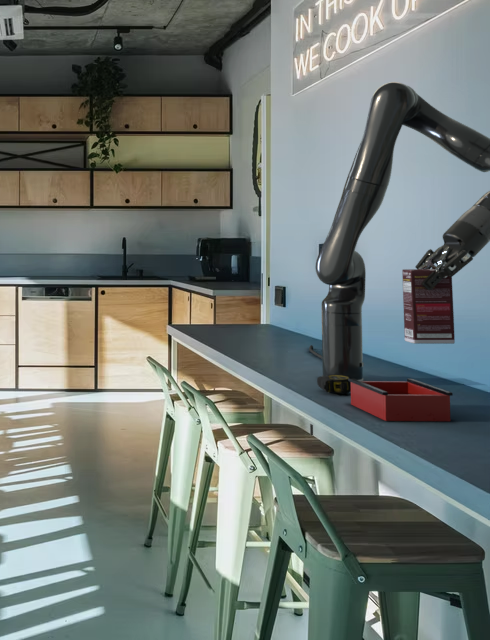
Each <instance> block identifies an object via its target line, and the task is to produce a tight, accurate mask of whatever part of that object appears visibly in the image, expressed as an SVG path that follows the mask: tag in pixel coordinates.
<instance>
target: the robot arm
mask: <svg viewBox="0 0 490 640" xmlns="http://www.w3.org/2000/svg"><path fill="white" fill-rule="evenodd" d="M403 126H404V127H406V128H410V129H412V130H413V131H416V132H418V133H420V134H422V135H423V136H425V137H427V138H428V139H430V140H431V141H433V142H434V143H435V144H436V145H438V146H440V147H441V148H443V150H445V151H446V152H448V153H449V154H450V155H452V156H453V157H455V158H457V159H459V160H460V161H462V162H463V163H465V164H467V165H469V166H470V167H472V168H474V169H475V170H477V171H479V172H481V173H489V172H490V137H489V136H486V135H484V134H483V133H481V132H479V131H478V130H476V129H474V128H472V127H470V126H468V125H466V124H464V123H462V122H460V121H459V120H455V119H454V118H452V117H450V116H448V115H447V114H445V113H443V112H442V111H440V110H438V109H437V108H436V107H434V106H433V105H431V104H430V103H429V102H427V100H426V99H424V98H423V97H422V96H420V95H419V94H418V93H417V92H416V90H414V88H413V87H411V86H410V85H407V84H405V83H403V82H398V81H390V82H387V83H384V84H382V85H380V86H379V87H378V88H377V89H376V90H375V92H374V93H373V95H372V97H371V99H370V104H369V109H368V114H367V118H366V123H365V127H364V131H363V135H362V138H361V140H360V143H359V146H358V147H357V150H356V153H355V156H354V158H353V161H352V164H351V167H350V169H349V171H348V173H347V177H346V180H345V183H344V186H343V190H342V193H341V196H340V200H339V203H338V205H337V208H336V211H335V214H334V218H333V220H332V224H331V226H330V229H329V231H328V233H327V235H326V238H325V239H324V242H323V244H322V246H321V248H320V251H319V253H318V255H317V258H316V262H315V274H316V275H317V278H318V280H319V281H320V282H322V283H323V284H325V285H328V292H327V295H326V296H325V297H324V298H323V299H322V301H321V354H320V353H318V352H316V351H315V350H314V346H313V344H311V345H309V348H308V351H309V352H310V353H311V354H312V355H314V356H315V357H317V358H319V359H321V361H322V362H321V363H322V364H321V365H322V368H321V369H322V375H321V376H327V375H341V376H346V377H349V378H353V379H356V380H358V381H364V374H363V373H364V370H363V369H364V368H363V367H364V365H365V362H363V361H364V358H363V313H362V312H363V305H364V302H365V299H366V279H367V278H366V272H367V271H366V264H365V261H364V258H363V257H362V255H361V254H360V253H359V252H358V251H356V248H357V244H358V241H359V239H360V237H361V235H362V233H363V232H364V230H365V228H367V226H368V224H369V223H370V222H371V221H372V220H373V218H374V217H375V215H376V214H377V213H378V211H379V209H380V208H381V206H382V205H383V204H382V203H383V202H384V198H385V196H386V193H387V190H388V187H389V184H390V182H391V181H390V180H391V178H392V177H391V176H392V170H393V163H394V161H393V160H394V152H395V146H396V143H397V140H398V137H399V135H400V132H401V129H402V127H403ZM442 240H443V244H442V245H441V246H439V247H438V248H437V249H435V250H434V251H433V249H431V248H430V249H427V251H426V252H425V254H423V256H422V257H421V258H420V260H419V261H418V263H417V264H416V265H415V267H414V268H415V269H435V270H434V271H435V272H432V273H431V274H430V275H429V276H428V277H427V278H426V279H425V280H424V281H423V282H422V286H423V287H424V288H425V289H426V290H432V289H433V288H434V287H435V285H436V284H437V283H438V282H439V281H440V280H441V279H445V278H446V277H447V276H449V277H452V278H453V277H454V276H455V275H456V274H457V273H458V272H460V271H461V270H462V269H463V268H465V267H466V266H468V264H470V263H471V261H473V260H474V257H476V256H477V255H478V254H479V253H480V252H481V251H482V250H483V249H484V248H485V247H486V246H487V245H488V244H489V242H490V190H488V191H486V192H485V193H484V194H483V195H482V196H481V197H479V199H478V200H477V201H476V202H475V203H474V204H473V205H472V206H471V207H470V208H468V209H467V210H466V211H464V212H463V213H462V214H461V215H460V216H459V217H458V219H456V221H454V222H453V223H452V225H450V227H449V228H447V229H446V230H445V232H443V234H442ZM435 264H436V265H435ZM310 434H311V435H313V436H314V425H313V424H312V423H309V435H310Z"/></svg>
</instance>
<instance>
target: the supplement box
mask: <svg viewBox="0 0 490 640" xmlns="http://www.w3.org/2000/svg"><path fill="white" fill-rule="evenodd" d="M434 270H435V269H432V268H431V269H417V268H415V269H414V268H413V269H409V268H408V269H407V268H406V269H405V268H404V269H402V299H403V300H402V304H403V329H404V330H403V331H404V332H403V333H404V341H405V342H407V343H411V344H416V345H418V344H421V345H425V344H426V345H427V344H428V345H429V344H430V345H441V344H443V345H444V344H446V345H447V344H451V345H453V344H455V342H456V341H455V315H454V314H455V312H454V298H453V297H454V293H453V276H452V277H449V276H447V277H446V278H445V279H441V280H440V281H439V282H438V283H437V284H436V285H435V287H434V288H433V289H432V290H426V289H425V288H424V287H423V286H422V282H423V281H424V280H425V279H426V278H427V277H428V276H429V275H430V274H431V273H432V272H435V271H434Z"/></svg>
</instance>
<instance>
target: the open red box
mask: <svg viewBox="0 0 490 640" xmlns="http://www.w3.org/2000/svg"><path fill="white" fill-rule="evenodd" d="M348 381H350V382H351V391H350V405H351V406H353V407H355V408H357V409H359V410H361V411H364V412H366V413H368V414H370V415H372V416H373V417H374V416H375V418H376V417H377V418H379V419H380V420H383V421H385V422H451V397H452V396H453V394H454V393H453V391H452V392H451V391H449V390H446V389H443V388H440V387H437V386H434V385H433V384H432V385H431V384H428V383H425V382H423V381H420V380H417V379H413V378H406V381H403V380H402V381H400V380H399V381H397V380H396V381H395V380H393V381H391V380H388V381H387V380H382V381H381V380H363V381H358V380H356V379H353V378H348Z"/></svg>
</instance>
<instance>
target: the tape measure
mask: <svg viewBox="0 0 490 640" xmlns="http://www.w3.org/2000/svg"><path fill="white" fill-rule="evenodd" d="M348 378H349V377H346V376H341V375H327V376H322V375H321V376H318V377H317V379H316V384H317V386H318V387H319V388H320V389H321V390H323V391H324V392H326V393H328V394H330V393H333V394H343V395H344V394H347V393H351V382H350V381H348Z"/></svg>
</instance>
